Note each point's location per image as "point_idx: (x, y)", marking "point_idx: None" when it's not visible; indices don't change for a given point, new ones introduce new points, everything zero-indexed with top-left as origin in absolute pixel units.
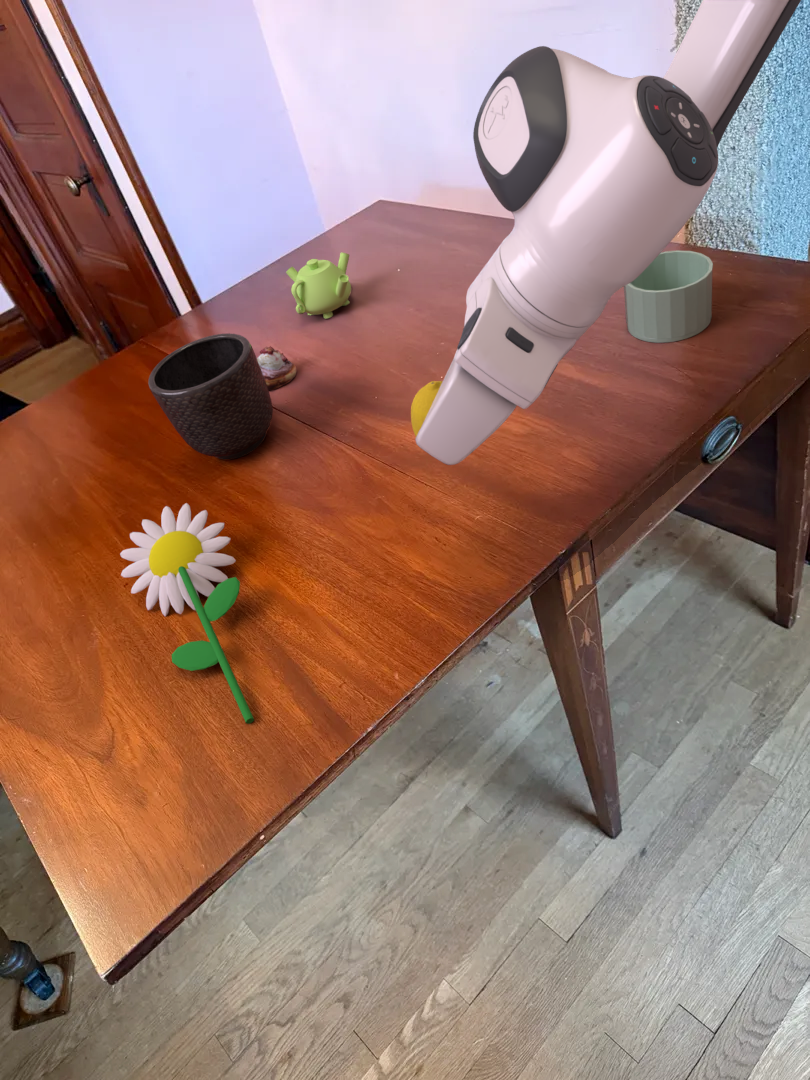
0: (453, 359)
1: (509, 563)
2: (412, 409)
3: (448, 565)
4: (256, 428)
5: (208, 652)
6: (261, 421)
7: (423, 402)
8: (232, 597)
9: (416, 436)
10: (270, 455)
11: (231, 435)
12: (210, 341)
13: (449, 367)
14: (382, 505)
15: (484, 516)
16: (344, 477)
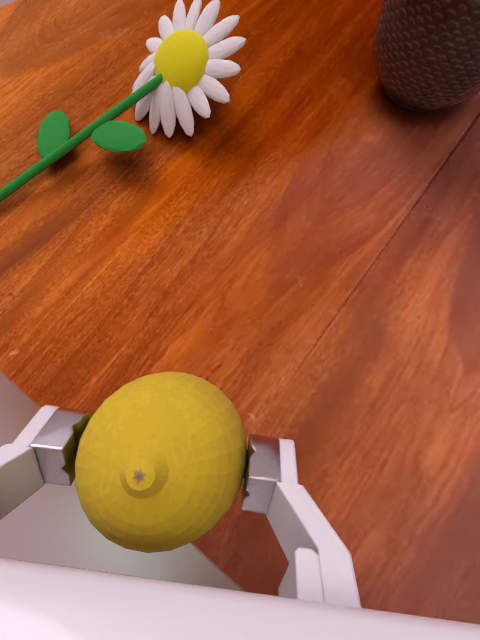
0: (137, 633)
1: None
2: (129, 388)
3: None
4: (413, 88)
5: (51, 145)
6: (426, 90)
7: (98, 436)
8: (116, 147)
9: (48, 408)
10: (387, 127)
11: (390, 58)
12: None
13: (78, 617)
14: (284, 287)
15: (253, 425)
16: (340, 228)
